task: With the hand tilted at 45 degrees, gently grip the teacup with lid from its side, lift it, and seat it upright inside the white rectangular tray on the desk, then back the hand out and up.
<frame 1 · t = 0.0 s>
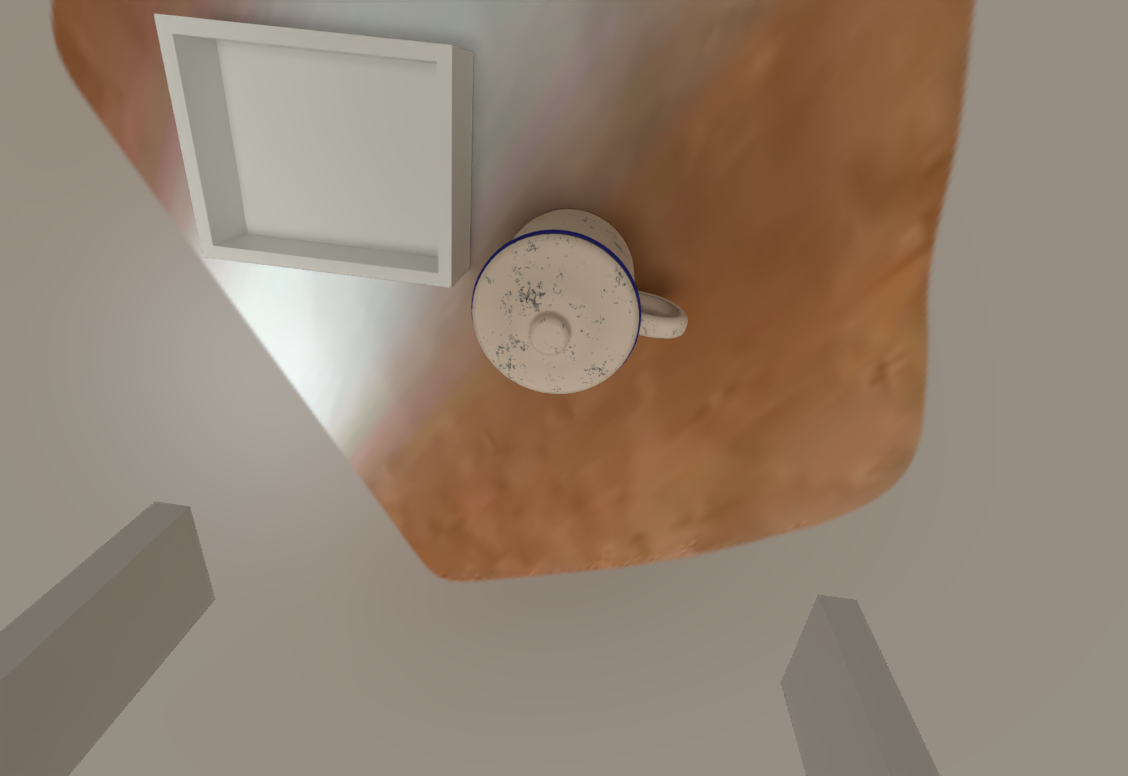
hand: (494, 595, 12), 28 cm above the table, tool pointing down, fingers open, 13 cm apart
teacup with lid: (590, 278, 37), on the table
white rectangular tray: (350, 155, 35), on the table
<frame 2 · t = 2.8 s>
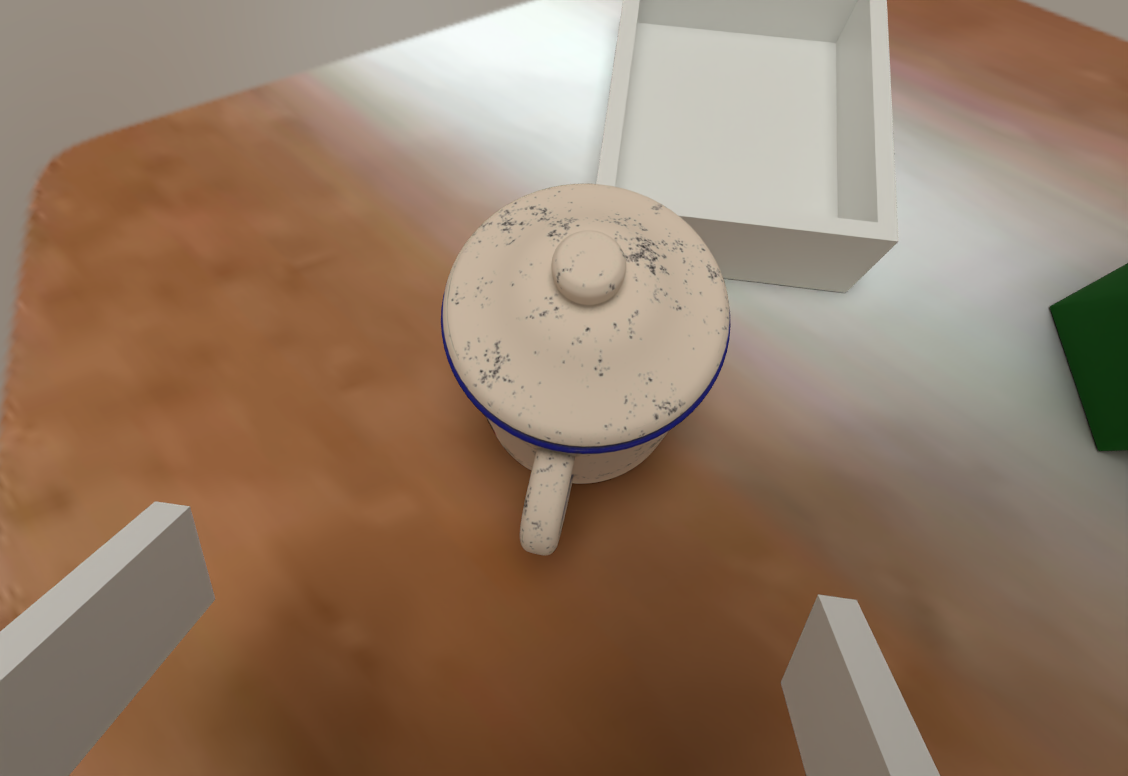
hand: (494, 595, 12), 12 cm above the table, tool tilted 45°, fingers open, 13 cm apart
teacup with lid: (572, 422, 25), on the table
white rectangular tray: (724, 148, 30), on the table
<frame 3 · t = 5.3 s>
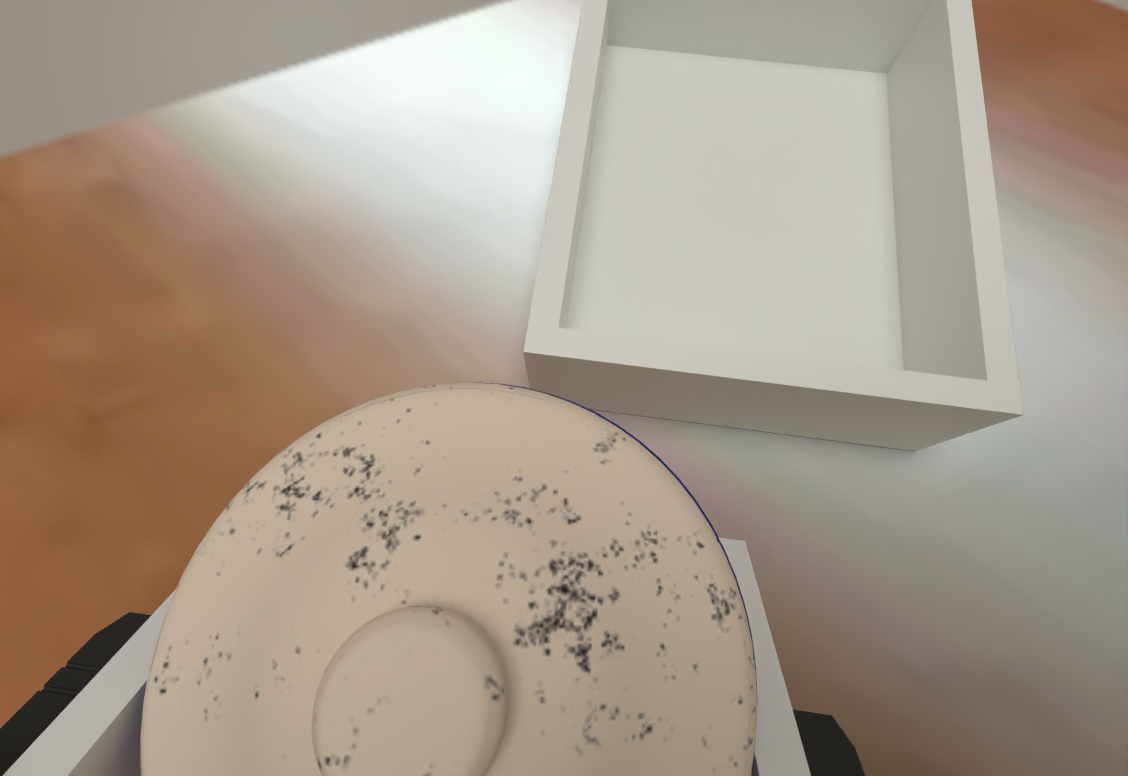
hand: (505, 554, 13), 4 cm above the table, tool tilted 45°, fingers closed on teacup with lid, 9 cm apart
teacup with lid: (498, 669, 16), on the table, touching gripper
white rectangular tray: (730, 224, 21), on the table
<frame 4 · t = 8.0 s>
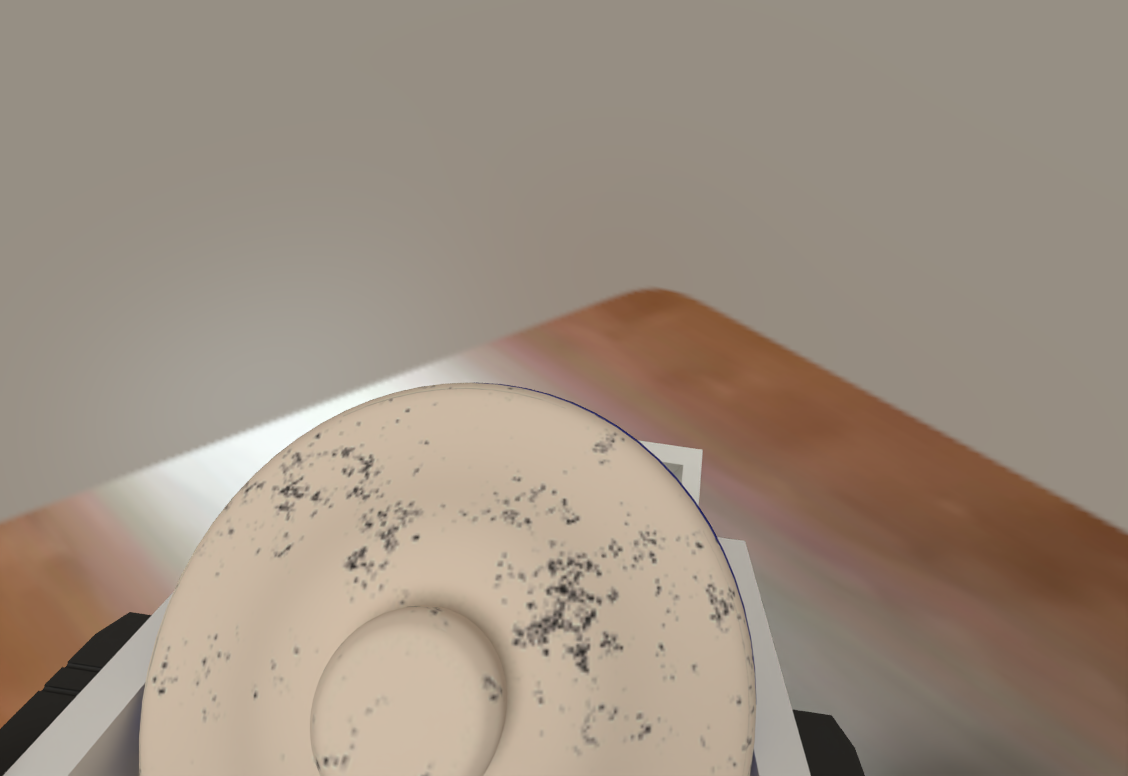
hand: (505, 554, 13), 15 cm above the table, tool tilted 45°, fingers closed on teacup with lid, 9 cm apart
teacup with lid: (497, 669, 16), point 11 cm above the table, touching gripper
white rectangular tray: (538, 605, 27), on the table
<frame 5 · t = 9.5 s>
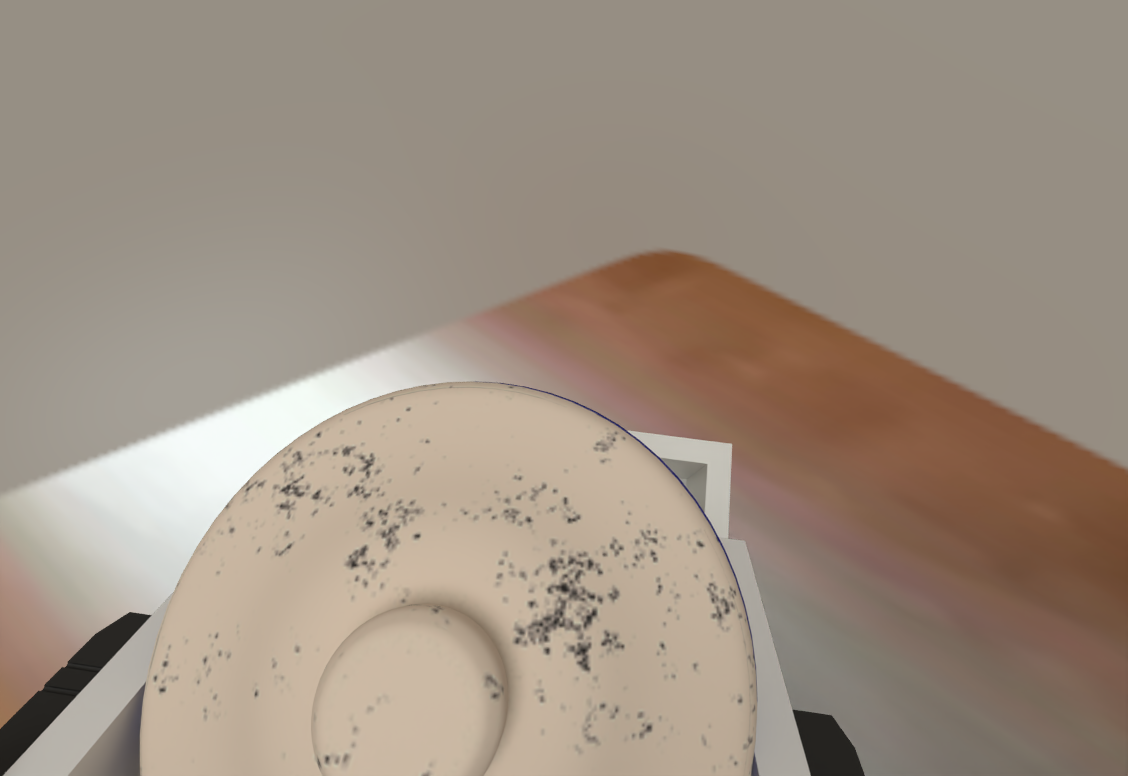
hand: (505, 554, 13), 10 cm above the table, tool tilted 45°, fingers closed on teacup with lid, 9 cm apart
teacup with lid: (497, 668, 16), point 5 cm above the table, touching gripper
white rectangular tray: (526, 644, 21), on the table
when the fingers open (7 cm above the table, at t = 10.6 s): teacup with lid drops 2 cm, resting on white rectangular tray.
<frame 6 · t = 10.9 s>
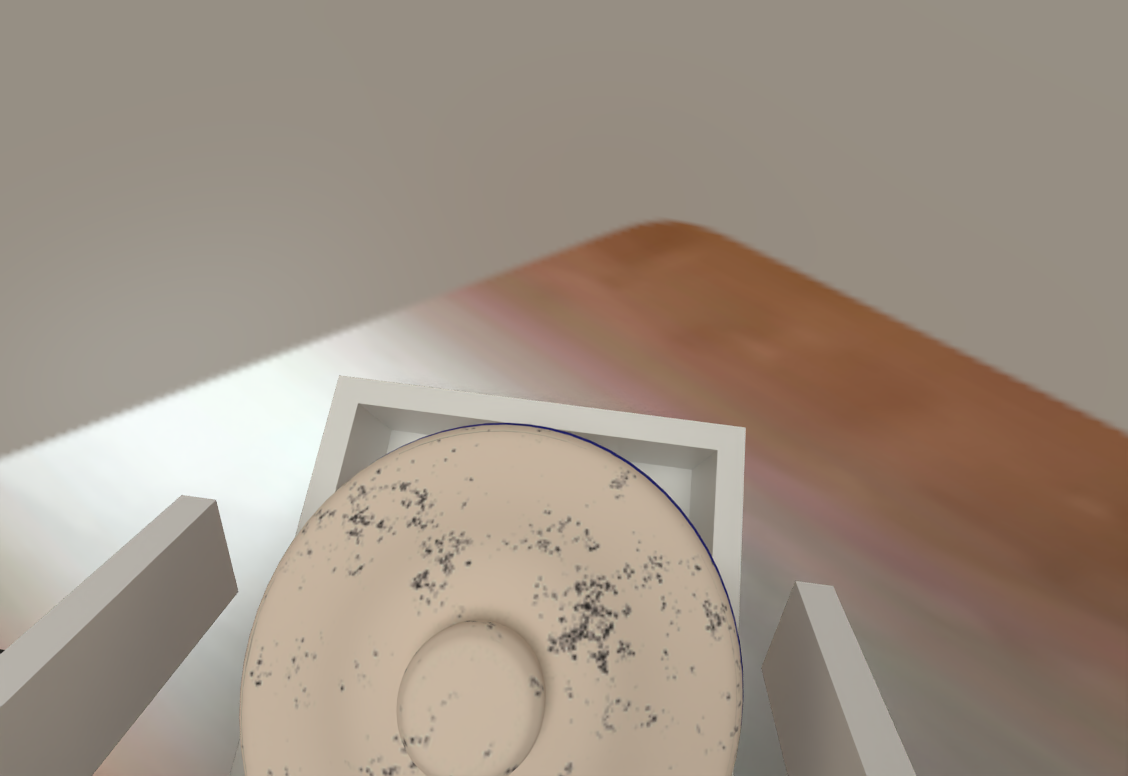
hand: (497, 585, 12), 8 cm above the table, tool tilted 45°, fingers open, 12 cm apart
teacup with lid: (514, 662, 18), point 1 cm above the table, touching white rectangular tray
white rectangular tray: (511, 656, 19), on the table
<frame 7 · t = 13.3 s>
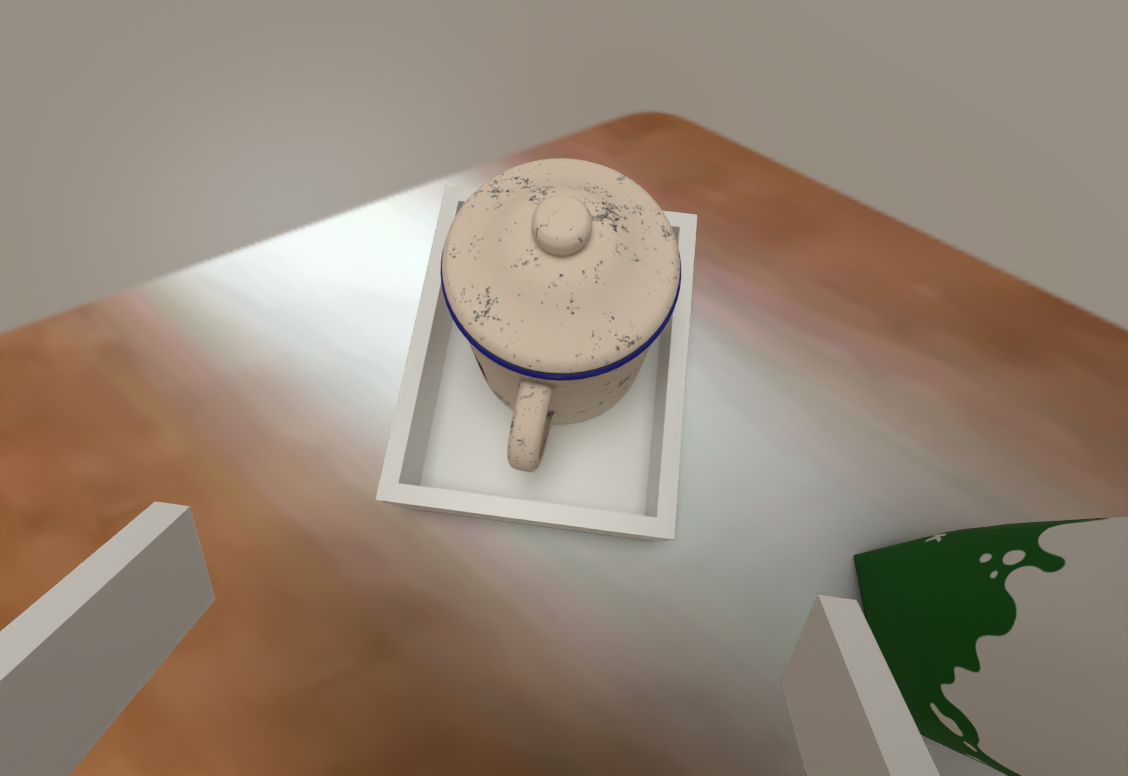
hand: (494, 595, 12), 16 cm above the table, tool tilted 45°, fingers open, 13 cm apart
teacup with lid: (554, 372, 29), point 1 cm above the table, touching white rectangular tray
white rectangular tray: (550, 375, 30), on the table
milk carton: (936, 626, 27), on the table
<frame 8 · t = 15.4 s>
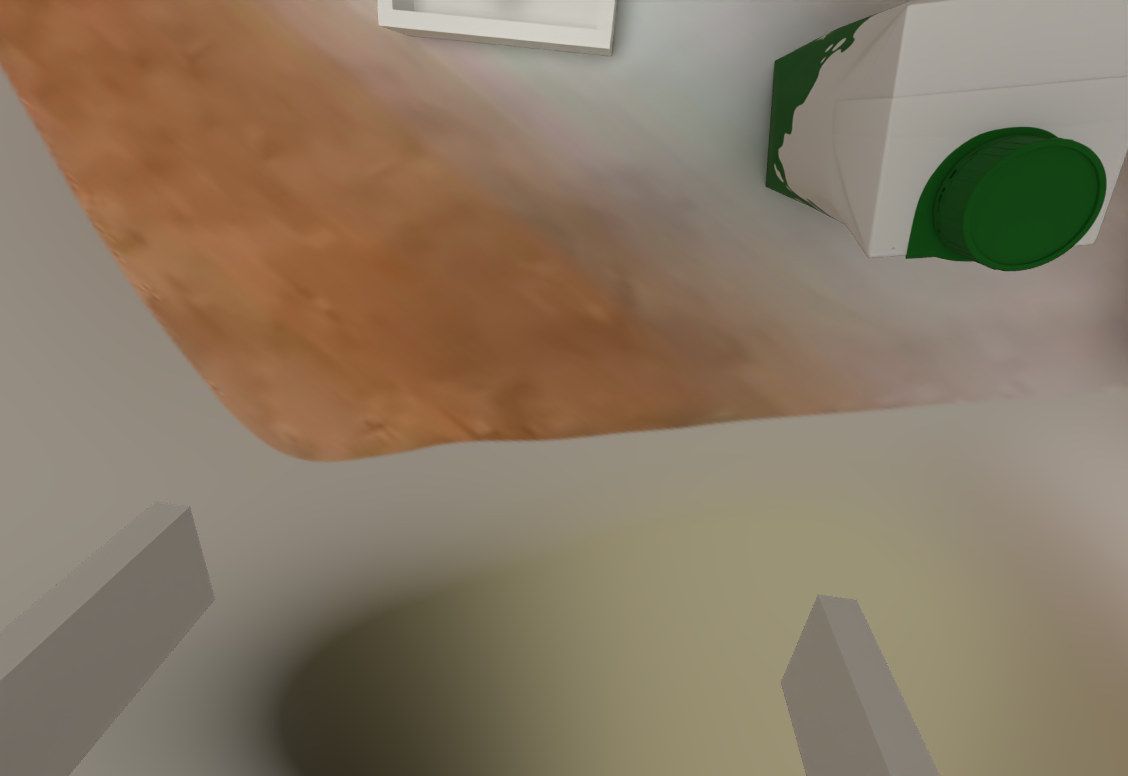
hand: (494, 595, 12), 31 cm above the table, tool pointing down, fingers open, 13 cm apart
milk carton: (827, 120, 34), on the table
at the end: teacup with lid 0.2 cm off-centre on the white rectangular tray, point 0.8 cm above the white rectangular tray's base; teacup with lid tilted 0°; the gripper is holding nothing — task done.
